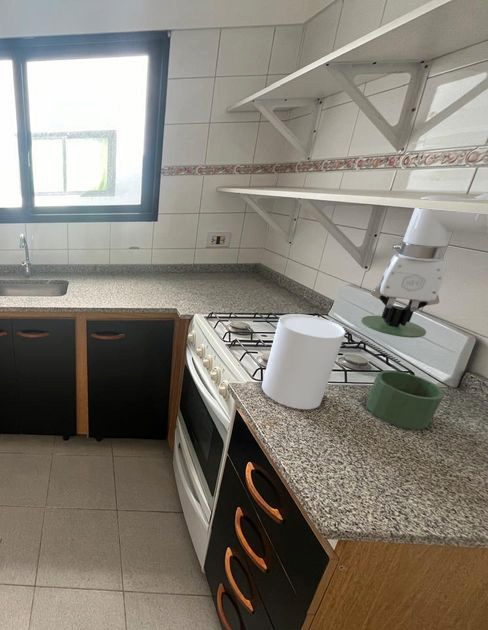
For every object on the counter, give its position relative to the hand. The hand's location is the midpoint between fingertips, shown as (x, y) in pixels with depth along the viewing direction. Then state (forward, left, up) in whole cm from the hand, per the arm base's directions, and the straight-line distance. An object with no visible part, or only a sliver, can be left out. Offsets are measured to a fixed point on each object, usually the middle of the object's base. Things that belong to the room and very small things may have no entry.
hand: (394, 321), depth 88 cm
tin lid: (0, 0, -1) cm, 1 cm away
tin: (-4, +13, -19) cm, 23 cm away
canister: (+18, +17, -19) cm, 31 cm away
